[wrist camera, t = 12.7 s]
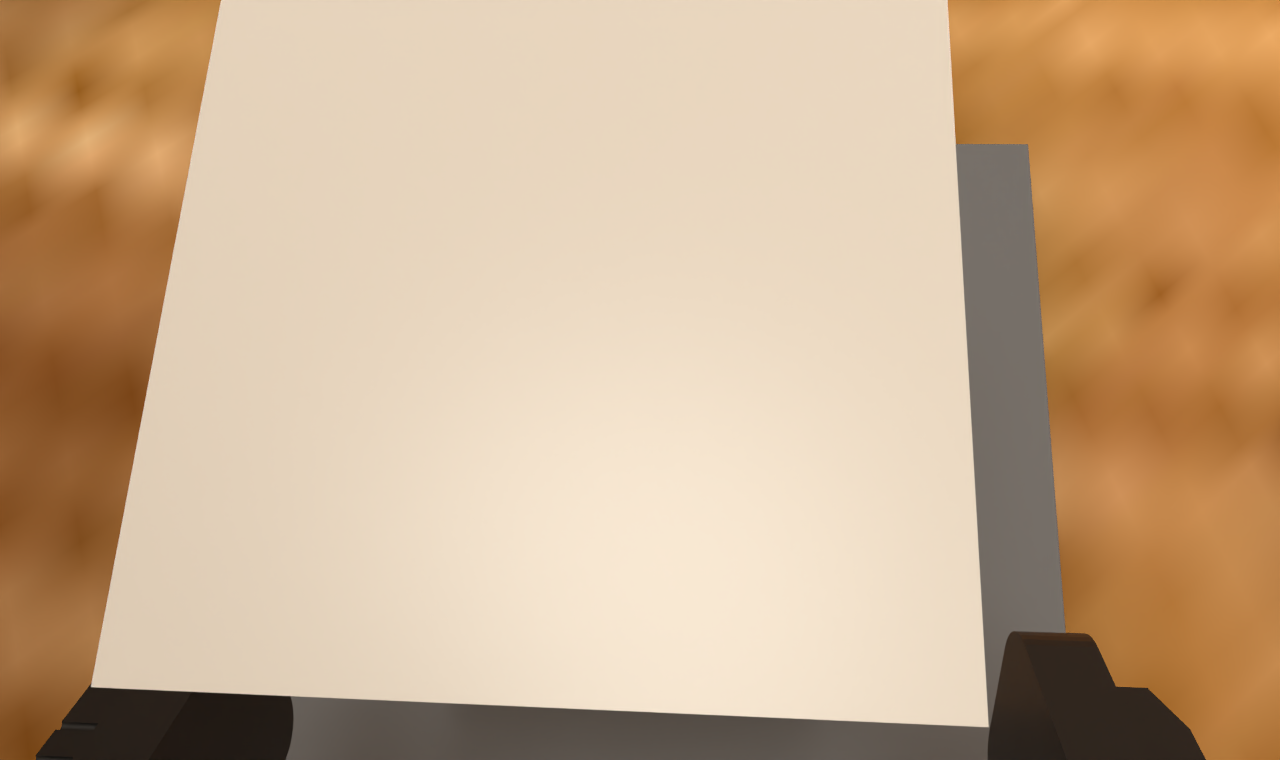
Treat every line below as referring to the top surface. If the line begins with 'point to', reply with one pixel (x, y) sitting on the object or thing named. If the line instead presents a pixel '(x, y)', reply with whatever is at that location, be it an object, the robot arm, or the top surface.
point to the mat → (1007, 540)
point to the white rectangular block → (564, 366)
